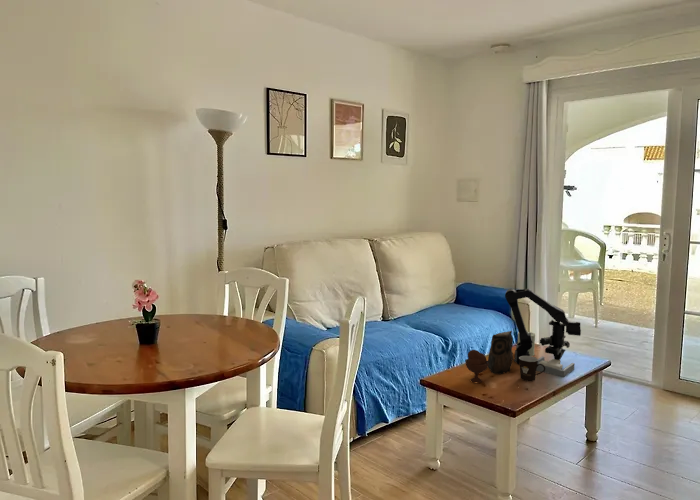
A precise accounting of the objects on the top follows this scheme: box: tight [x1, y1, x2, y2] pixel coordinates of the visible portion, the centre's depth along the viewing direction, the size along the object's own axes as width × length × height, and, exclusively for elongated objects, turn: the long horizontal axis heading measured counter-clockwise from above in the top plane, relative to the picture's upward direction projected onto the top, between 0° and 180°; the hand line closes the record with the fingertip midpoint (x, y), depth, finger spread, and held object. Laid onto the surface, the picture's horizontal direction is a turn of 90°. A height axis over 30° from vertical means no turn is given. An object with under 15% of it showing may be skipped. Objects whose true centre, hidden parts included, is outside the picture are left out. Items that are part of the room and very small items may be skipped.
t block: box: [539, 358, 564, 370], centre depth 257 cm, size 10×10×4 cm
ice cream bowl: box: [464, 349, 489, 383], centre depth 240 cm, size 11×11×15 cm
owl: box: [487, 330, 514, 375], centre depth 254 cm, size 13×13×20 cm
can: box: [517, 331, 536, 357], centre depth 281 cm, size 9×9×12 cm
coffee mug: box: [518, 356, 545, 382], centre depth 242 cm, size 12×9×10 cm
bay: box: [536, 356, 576, 378], centre depth 257 cm, size 15×16×3 cm
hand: (556, 363), depth 262 cm, fingers closed
